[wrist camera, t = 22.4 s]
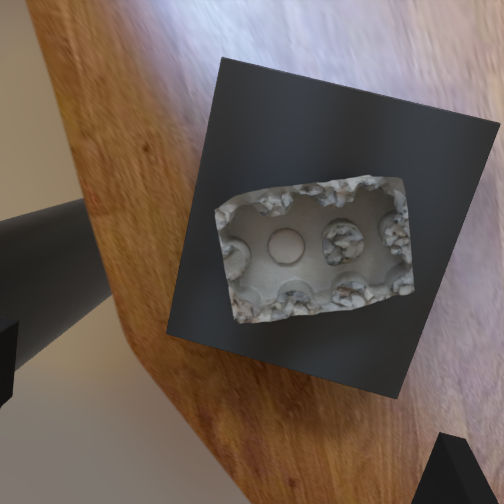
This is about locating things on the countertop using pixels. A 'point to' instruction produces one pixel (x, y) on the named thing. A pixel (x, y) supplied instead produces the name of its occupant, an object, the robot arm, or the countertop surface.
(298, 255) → the egg carton
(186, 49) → the countertop surface
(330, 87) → the shelf
